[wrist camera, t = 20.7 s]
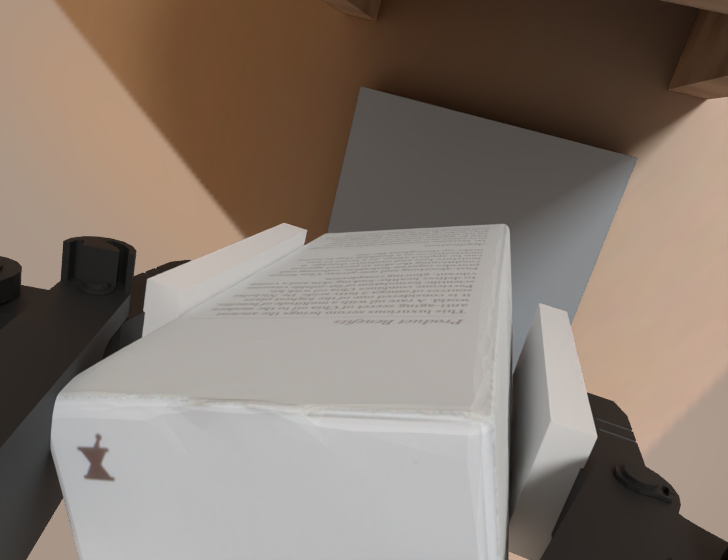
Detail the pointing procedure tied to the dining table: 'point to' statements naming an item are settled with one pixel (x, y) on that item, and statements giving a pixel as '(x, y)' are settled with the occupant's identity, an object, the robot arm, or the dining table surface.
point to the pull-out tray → (483, 192)
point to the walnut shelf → (695, 67)
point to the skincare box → (308, 412)
